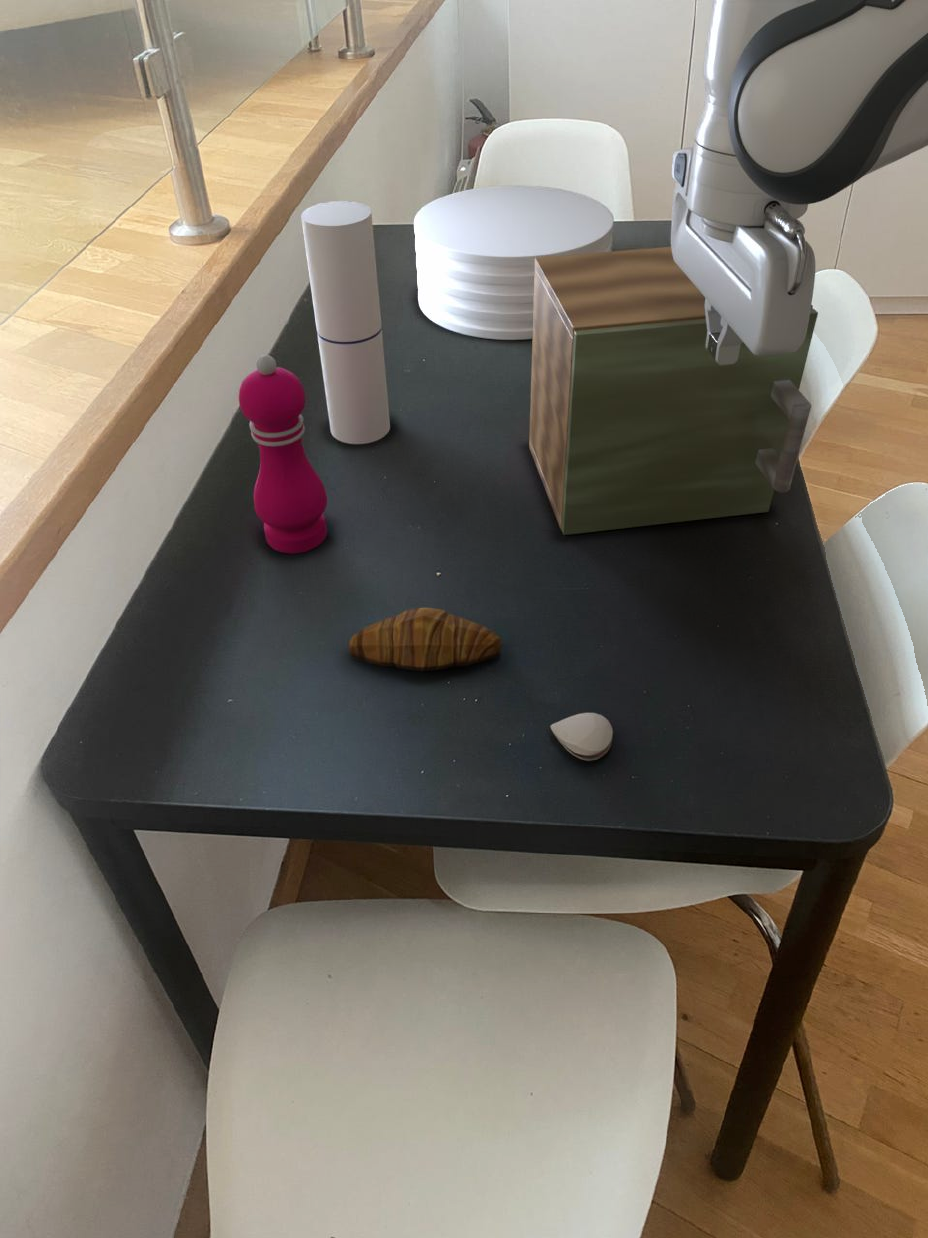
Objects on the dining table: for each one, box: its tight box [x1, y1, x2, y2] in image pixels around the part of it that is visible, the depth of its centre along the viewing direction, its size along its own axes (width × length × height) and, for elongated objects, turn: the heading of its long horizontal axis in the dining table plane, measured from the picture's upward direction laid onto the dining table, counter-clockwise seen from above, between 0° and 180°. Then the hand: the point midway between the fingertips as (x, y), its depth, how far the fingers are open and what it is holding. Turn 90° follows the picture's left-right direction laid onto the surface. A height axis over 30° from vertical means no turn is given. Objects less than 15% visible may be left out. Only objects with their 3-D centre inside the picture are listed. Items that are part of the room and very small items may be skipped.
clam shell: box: [549, 712, 614, 762], centre depth 73 cm, size 4×5×2 cm
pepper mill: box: [238, 354, 328, 554], centre depth 88 cm, size 7×7×20 cm
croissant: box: [348, 606, 503, 672], centre depth 80 cm, size 14×7×5 cm, turn 89°
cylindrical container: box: [300, 200, 391, 445], centre depth 102 cm, size 7×7×25 cm
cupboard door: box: [561, 308, 819, 536], centre depth 86 cm, size 6×22×22 cm, turn 99°
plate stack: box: [413, 184, 615, 341], centre depth 133 cm, size 28×28×12 cm
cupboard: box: [528, 246, 814, 531], centre depth 94 cm, size 16×22×22 cm
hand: (720, 356), depth 77 cm, fingers closed
